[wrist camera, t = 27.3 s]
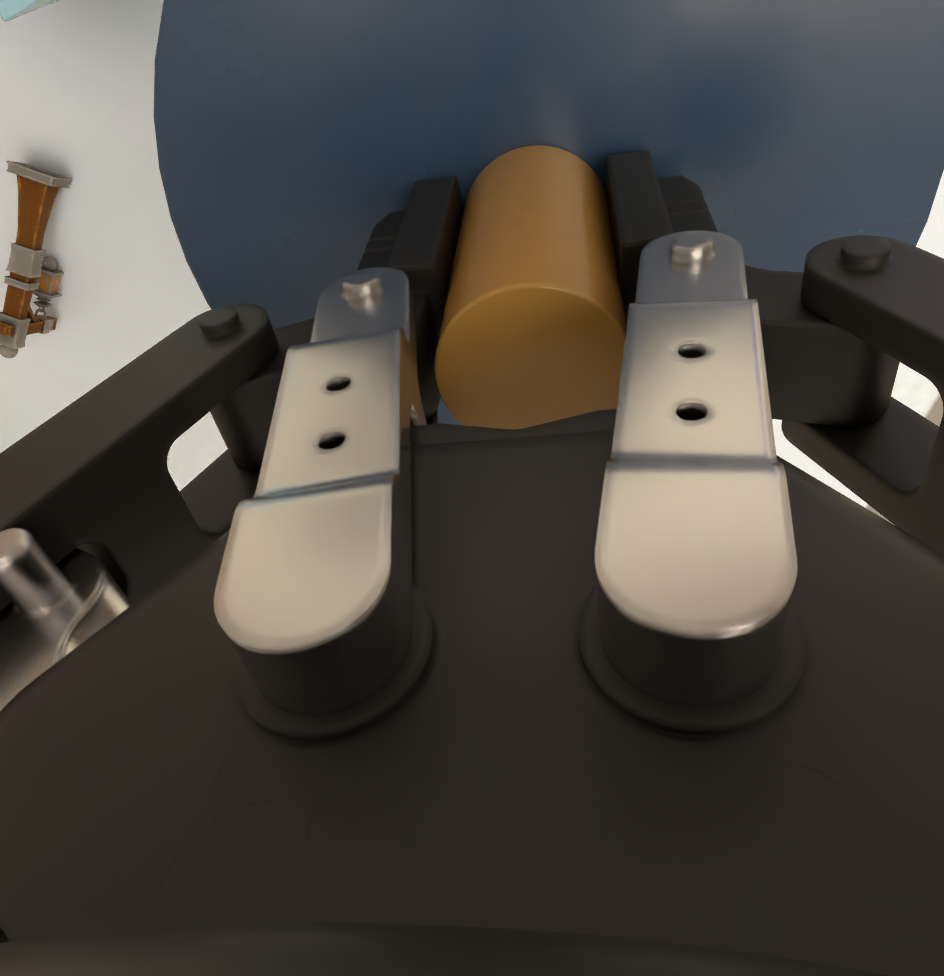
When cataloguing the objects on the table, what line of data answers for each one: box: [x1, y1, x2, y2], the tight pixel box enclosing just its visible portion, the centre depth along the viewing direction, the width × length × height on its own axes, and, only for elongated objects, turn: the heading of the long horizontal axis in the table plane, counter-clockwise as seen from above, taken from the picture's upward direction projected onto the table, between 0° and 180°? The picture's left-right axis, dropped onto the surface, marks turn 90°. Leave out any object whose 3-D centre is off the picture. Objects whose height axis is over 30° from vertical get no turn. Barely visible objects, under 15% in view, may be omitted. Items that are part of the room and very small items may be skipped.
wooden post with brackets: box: [0, 161, 72, 358], centre depth 33 cm, size 2×8×4 cm, turn 160°
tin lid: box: [154, 0, 944, 429], centre depth 12 cm, size 14×14×6 cm
